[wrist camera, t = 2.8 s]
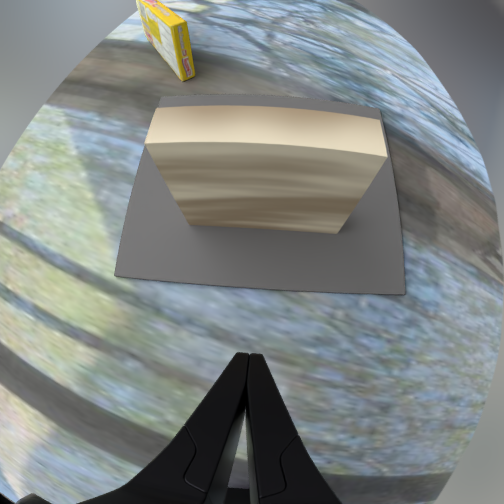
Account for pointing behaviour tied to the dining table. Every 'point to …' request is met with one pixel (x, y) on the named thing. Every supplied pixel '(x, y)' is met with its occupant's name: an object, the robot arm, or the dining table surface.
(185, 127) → the birch tile
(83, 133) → the dining table surface
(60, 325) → the dining table surface
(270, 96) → the mat
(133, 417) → the dining table surface
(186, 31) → the candy box
